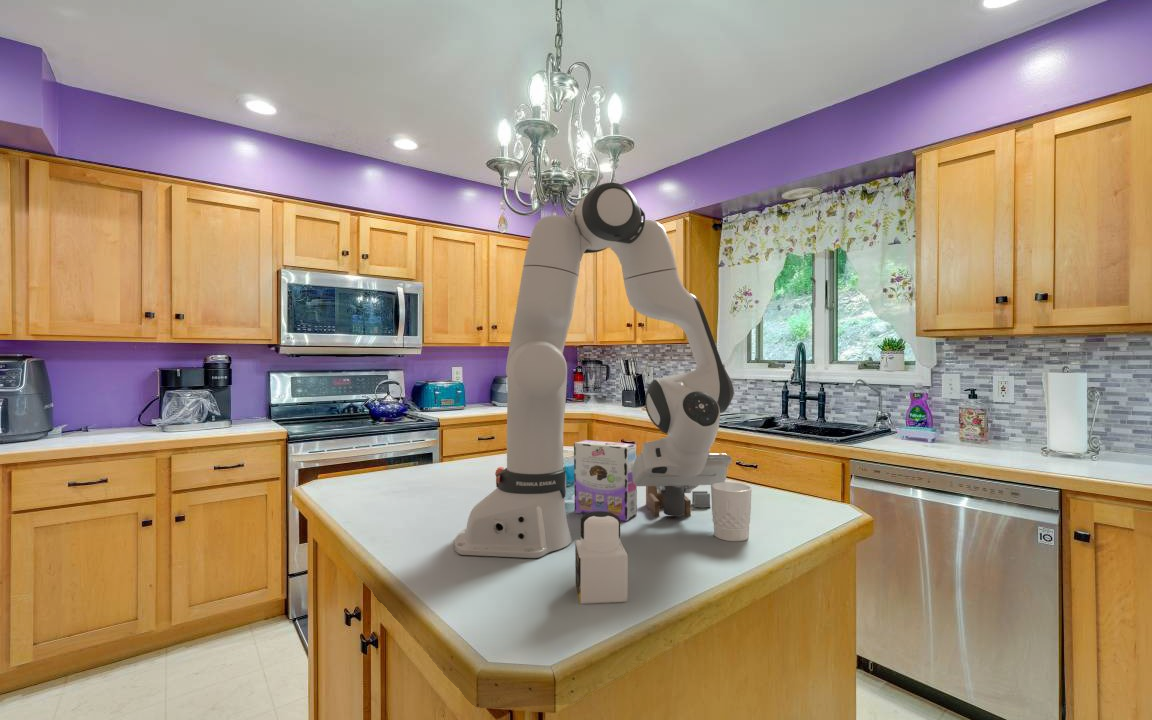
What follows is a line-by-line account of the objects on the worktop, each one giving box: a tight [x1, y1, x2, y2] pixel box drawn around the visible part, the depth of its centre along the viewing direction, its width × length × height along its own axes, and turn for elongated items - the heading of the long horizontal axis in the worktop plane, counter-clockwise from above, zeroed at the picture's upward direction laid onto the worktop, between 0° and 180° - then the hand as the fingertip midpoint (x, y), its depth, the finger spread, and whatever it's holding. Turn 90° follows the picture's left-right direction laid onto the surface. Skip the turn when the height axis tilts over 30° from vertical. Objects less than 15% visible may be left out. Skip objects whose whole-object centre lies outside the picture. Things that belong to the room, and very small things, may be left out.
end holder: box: [645, 486, 692, 518], centre depth 126 cm, size 8×10×5 cm
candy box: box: [573, 439, 638, 522], centre depth 123 cm, size 14×6×16 cm, turn 58°
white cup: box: [710, 481, 753, 542], centre depth 107 cm, size 8×8×10 cm
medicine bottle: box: [574, 511, 628, 605], centre depth 81 cm, size 7×7×12 cm
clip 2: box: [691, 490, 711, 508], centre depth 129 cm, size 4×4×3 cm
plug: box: [663, 486, 686, 517], centre depth 120 cm, size 5×5×9 cm
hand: (673, 490), depth 121 cm, fingers closed on plug, 5 cm apart
